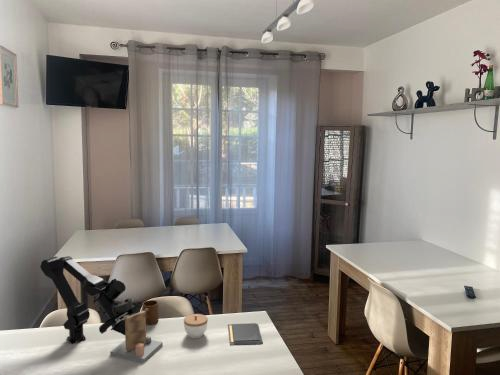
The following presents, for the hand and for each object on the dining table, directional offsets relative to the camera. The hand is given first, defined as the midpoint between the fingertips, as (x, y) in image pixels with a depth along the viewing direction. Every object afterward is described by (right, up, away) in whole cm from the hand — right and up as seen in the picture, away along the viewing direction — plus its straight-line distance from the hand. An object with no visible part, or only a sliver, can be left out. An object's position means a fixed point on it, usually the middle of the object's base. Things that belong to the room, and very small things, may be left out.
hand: (130, 335), depth 161 cm
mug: (+1, -4, +26) cm, 27 cm away
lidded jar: (+25, -6, +15) cm, 30 cm away
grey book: (+47, -7, +17) cm, 51 cm away
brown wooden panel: (+2, -5, +1) cm, 5 cm away
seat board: (+2, -7, +2) cm, 7 cm away
